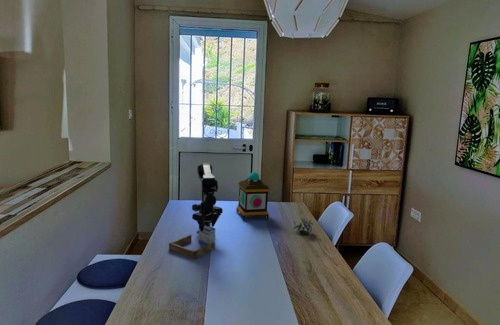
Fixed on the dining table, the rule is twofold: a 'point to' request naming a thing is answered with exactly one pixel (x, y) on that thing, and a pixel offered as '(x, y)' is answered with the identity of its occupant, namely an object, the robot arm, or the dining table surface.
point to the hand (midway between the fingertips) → (207, 228)
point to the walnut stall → (192, 254)
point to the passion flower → (304, 226)
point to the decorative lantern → (253, 197)
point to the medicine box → (207, 235)
